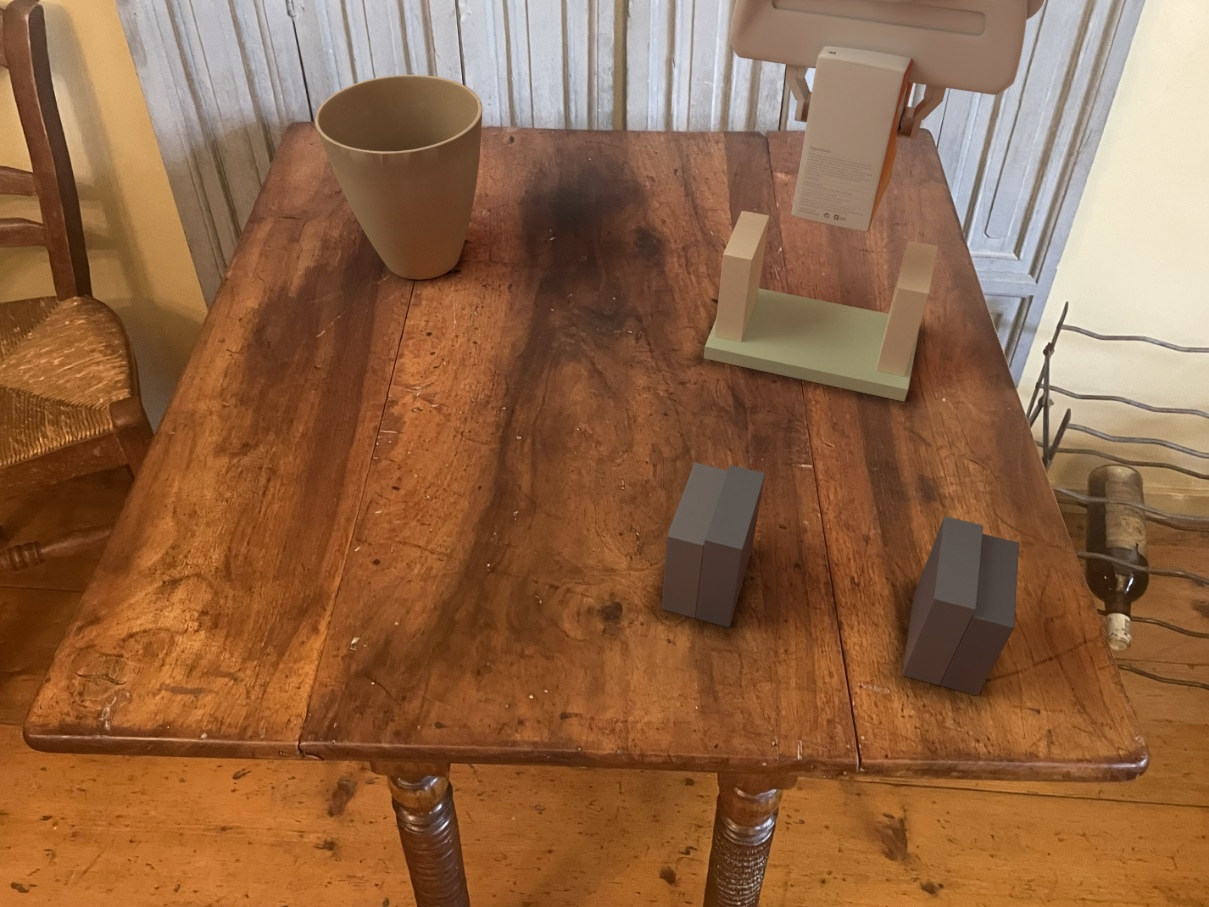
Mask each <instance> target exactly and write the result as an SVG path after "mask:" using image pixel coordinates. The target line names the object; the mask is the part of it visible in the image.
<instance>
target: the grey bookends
mask: <svg viewBox="0 0 1209 907" xmlns="http://www.w3.org/2000/svg"><path fill="white" fill-rule="evenodd" d="M765 478H766V472H761V471H758V470H753V469H749V468H745V467H742V466H741V467H740V466H737V465H732V464H730V465H729V467H728V469H724V468H720V467H716V466H712V465H709V464H708V465H707V464H703V463H699V462H693V466H692V468H691V471H690V473H689V476H688V478H687V481H686V484H685V487H684V489H683V492H682V495H681V497H680V500H679V503H678V506H677V508H676V511H675V514H674V516H673V519H672V521H671V524H670V526H669V527H670V528H669V530H668V533H667V537H666V546H665V547H666V548H665V549H666V550H665V560H664V574H663V588H662V598H661V600H662V601H661V610H663V611H667V612H671V613H674V614H678V615H680V616H681V615H682V616H684V617H688V618H693V619H696V620H700V621H703V622H707V623H711V624H715V625H718V626H721V627H724V628H728V629H729V628H731V624H732V620H733V617H734V614H735V610H736V607H737V603H738V600H739V597H740V594H741V591H742V586H743V583H744V579H745V577H746V573H747V570H748V566H749V563H750V560H751V556H752V550H753V545H754V540H755V535H756V530H757V529H756V528H757V523H758V517H759V513H760V512H759V511H760V506H761V501H762V495H763V488H764V483H765ZM983 532H984V525H983V524H980V523H977V522H972V521H967V520H963V519H959V518H955V517H951V516H947V515H944V517H943V518H942V521H941V524H940V526H939V529H938V532H937V534H936V536H935V539H934V542H933V544H932V547H931V548H930V549H931V550H930V552H929V555H928V557H927V560H926V562H925V565H924V568H923V570H922V572H921V574H920V578H919V580H918V583H917V585H916V588H915V590H914V593H913V597H912V604H911V609H910V611H911V612H910V617H909V623H908V630H907V636H906V645H905V651H904V657H903V658H904V659H903V666H902V673H901V676H903V677H907V678H910V679H914V680H917V681H921V682H924V683H927V684H932V685H936V686H940V687H943V688H946V689H950V690H953V691H957V692H962V693H966V694H969V695H971V696H975V697H976V696H977V697H978V696H979V695H980V692H981V691H982V689H983V687H984V685H985V683H986V681H987V679H988V677H989V676H990V674H991V672H992V670H993V668H994V666H995V664H996V663H997V661H998V659H999V657H1000V656H1001V653H1002V651H1003V650H1004V648H1005V646H1006V644H1007V642H1008V640H1009V638H1010V637H1011V635H1012V633H1013V631H1014V629H1015V624H1016V606H1017V587H1018V570H1019V569H1018V568H1019V553H1020V542H1019V541H1014V540H1011V539H1007V538H1003V537H997V536H993V535H989V534H987V533H986V534H985V533H983Z"/></svg>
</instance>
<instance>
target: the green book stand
mask: <svg viewBox="0 0 1209 907" xmlns="http://www.w3.org/2000/svg"><path fill="white" fill-rule="evenodd" d="M769 221H770V215H768V214H763V213H758V212H757V213H756V212H751V211H747V210H741V212H740V214H739V216H738V219H737V222H736V223H735V226H734V228H733V230H732V233H731V236H730V238H729V240H728V241H727V242H728V243H727V245H726V247H725V249H724V252H723V254H722V263H721V272H720V281H719V290H718V300H717V310H716V317H715V321H714V322H713V326H712V328H711V330H710V333H709V335H708V338H707V340H706V343H705V345H704V351H703V352H704V353H703V359H704V360H710V361H714V362H718V363H719V362H720V363H723V364H728V365H732V366H736V367H741V368H742V367H743V368H746V369H750V370H754V371H755V370H756V371H759V372H764V373H769V374H774V375H779V376H783V377H788V378H793V379H797V380H802V381H807V382H812V383H816V384H821V385H826V386H830V387H835V388H839V389H842V390H843V389H844V390H849V391H853V392H857V393H862V394H865V395H872V396H876V397H881V398H886V399H890V400H895V401H900V402H902V403H903V402H906V398H907V396H908V392H909V388H910V383H911V377H912V372H913V366H914V360H915V355H916V348H917V343H918V338H919V333H920V326H921V323H922V320H923V316H924V313H925V310H926V306H927V303H928V299H929V296H930V292H931V286H932V282H933V276H934V270H935V264H936V259H937V252H938V245H935V244H929V243H923V242H917V241H912V240H908V241H907V243H906V246H905V249H904V253H903V258H902V262H901V264H900V268H899V272H898V276H897V281H896V284H895V287H894V292H893V294H892V295H893V296H892V299H891V303H890V307H889V309H888V313H886V312H883V311H878V310H877V311H876V310H872V309H868V308H867V309H866V308H862V307H857V306H850V305H846V304H841V303H836V302H831V301H826V300H820V299H815V298H811V297H805V296H800V295H795V294H791V293H785V292H781V291H777V290H776V291H775V290H771V289H770V290H769V289H765V288H760V286H761V278H762V270H763V264H764V258H765V250H766V244H767V243H766V242H767V236H768V229H769V223H770V222H769Z"/></svg>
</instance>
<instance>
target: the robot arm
mask: <svg viewBox="0 0 1209 907" xmlns="http://www.w3.org/2000/svg"><path fill="white" fill-rule="evenodd" d="M1044 2H1045V0H735V2H734V7H733V12H732V16H731V17H732V18H731V23H730V29H729V30H730V31H729V39H728V40H729V45H730V47H731V48H732V50H733V52H734V53H735V54H736V56H737V57H738V58H742V59H747V60H754V61H761V62H767V63H774V64H780V65H786V70H785V79H786V80H785V81H786V82H787V84H788V86H789V89H790V91H791V93H792V96H793V99H794V100H795V101H796V106H795V113H794V119H793V120H794V122H795V121H796V122H800V123H807V118H808V111H809V105H810V100H811V94H812V91H811V90H810V87H809V84H808V82H807V80H806V75H807V73H808V70H809V69H814V70H816V64H817V58H818V55H819V54H820V52H821V50H822V49H823V47H826V46H831V47H843V48H852V49H860V50H868V51H875V52H881V53H886V54H892V55H898V56H903V57H908V58H911V59H912V60H913V61H912V67H911V71H910V76H909V80H908V82H909V83H913V84H916V85H924V86H925V88H924V89H925V90H924V94H923V98H922V99H921V101H919V102H918V104H917V105H916V106H915V107H913V106H908V107H907V106H905V108H904V110H903V114H902V118H901V123H900V127H899V131H898V135H897V137H900V139H901V138H903V139H908V140H914V141H916V140H918V137H919V133H920V129H921V125H922V121H925V119H927V117H928V116H929V115H930V114H932V112H934V110H936V108H938V107H939V106H940V104H942V102H944V97H945V94H946V91H947V89H950V90H958V91H965V92H971V93H979V94H984V95H992V96H998V95H1001V94H1002V93H1003V92H1005V91H1006V90H1008V89H1009V88H1010V87H1012V86H1013V85H1014V84H1015V81H1016V78H1017V75H1018V71H1019V66H1020V62H1021V59H1022V54H1023V47H1024V41H1025V36H1026V27H1027V21H1028V20H1029V19H1031V18H1033V17H1034V16H1035V15H1036V14H1038V12H1039V11H1040V10H1041V8H1042V6H1043V5H1044Z"/></svg>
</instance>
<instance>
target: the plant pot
mask: <svg viewBox="0 0 1209 907" xmlns="http://www.w3.org/2000/svg"><path fill="white" fill-rule="evenodd" d="M314 124H315V128H316V130H317V133H318V135H319V138H320V141H321V143H322V147H323V148H324V151H325V154H326V156H327V159H328V161H329V164H330V166H331V168H332V171H333V174H334V176H335V178H336V180H337V183H338V185H339V187H340V189H341V191H342V193H343V195H344V197H345V199H346V202H347V204H348V205H349V207H350V209H351V211H352V213H353V214H354V216H355V218H356V220H357V222H358V224H359V225H360V227H361V229H362V230H363V232H364V234H365V236H366V237H367V239H368V241H369V242H370V243H371V245H372V247H373V248H374V250H375V252H377V254H378V256H379V257H380V258H381V260H382V261H383V263H384V264H385V266H386V267H387V268H388V270H389V271H390V272H391V273H392V274H394V275H396V276H398V277H400V278H404V279H407V280H408V279H409V280H417V281H418V280H430V279H435V278H438V277H441V276H442V275H445V274H446V273H448V272H450V271H451V270H452V269H454V268H455V266H456V265H457V264H458V262H459V260H460V257H461V255H462V254H461V253H462V250H463V247H464V244H465V241H466V236H467V234H468V229H469V225H470V221H471V216H472V212H473V207H474V202H475V196H476V190H477V184H478V175H479V170H480V169H479V168H480V157H481V147H482V146H481V145H482V143H481V142H482V125H483V103H482V101H481V99H480V97H479V95H477V94H476V92H475V91H473V90H472V89H471V88H469V87H468V86H467V85H465V84H464V83H463V84H462V83H460V82H458V81H456V80H453V79H448V78H445V77H440V76H435V75H434V76H433V75H424V74H396V75H395V74H394V75H387V76H381V77H375V78H371V79H367V80H362V81H360V82H357V83H354V84H352V85H349V86H346V87H344V88H342V89H340V90H339V91H336V92H335V93H333V94H332V95H331V96H329V97H327V98H326V100H324V101H323V102H322V103H321V105H320V106H319V107H318V109H317V111H316V113H315V116H314Z"/></svg>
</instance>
